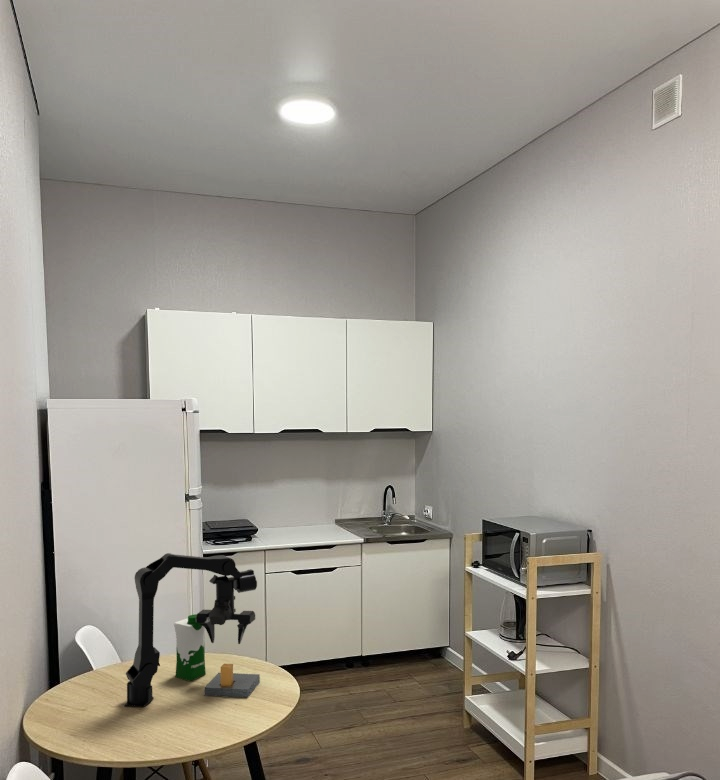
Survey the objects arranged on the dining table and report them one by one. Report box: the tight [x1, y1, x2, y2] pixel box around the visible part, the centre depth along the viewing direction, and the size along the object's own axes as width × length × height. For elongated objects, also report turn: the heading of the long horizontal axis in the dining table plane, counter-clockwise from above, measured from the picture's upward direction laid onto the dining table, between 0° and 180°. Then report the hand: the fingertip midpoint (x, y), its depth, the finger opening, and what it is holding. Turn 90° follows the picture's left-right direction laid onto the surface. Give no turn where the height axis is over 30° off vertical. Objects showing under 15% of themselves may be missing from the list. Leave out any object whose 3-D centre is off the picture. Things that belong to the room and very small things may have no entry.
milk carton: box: [173, 613, 207, 682], centre depth 224 cm, size 9×9×20 cm
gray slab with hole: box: [203, 672, 261, 699], centre depth 212 cm, size 14×12×2 cm
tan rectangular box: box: [220, 663, 234, 686], centre depth 210 cm, size 3×3×8 cm
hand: (226, 643), depth 219 cm, fingers open, 9 cm apart
